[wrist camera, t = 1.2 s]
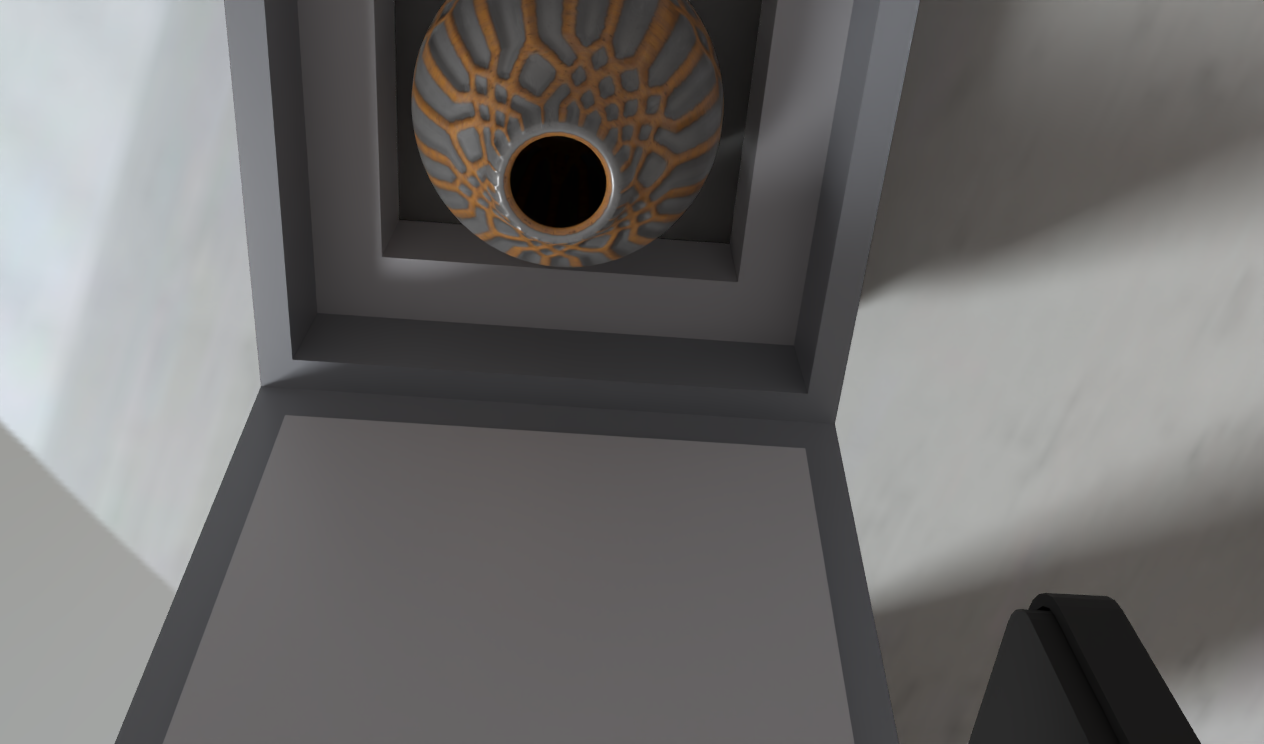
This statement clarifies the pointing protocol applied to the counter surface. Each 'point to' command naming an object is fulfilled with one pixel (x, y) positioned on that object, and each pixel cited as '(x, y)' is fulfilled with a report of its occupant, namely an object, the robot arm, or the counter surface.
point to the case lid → (519, 582)
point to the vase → (567, 122)
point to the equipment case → (561, 296)
